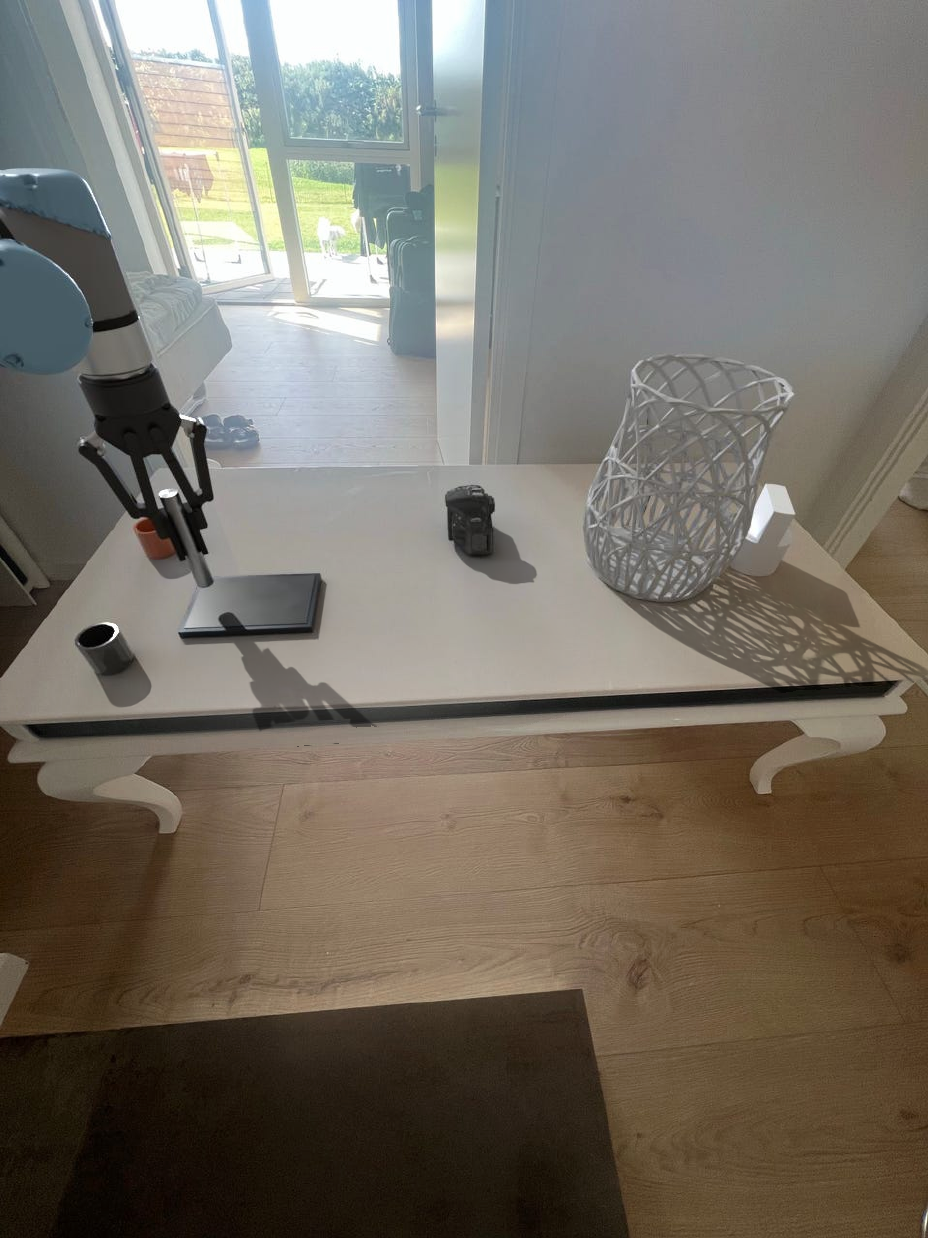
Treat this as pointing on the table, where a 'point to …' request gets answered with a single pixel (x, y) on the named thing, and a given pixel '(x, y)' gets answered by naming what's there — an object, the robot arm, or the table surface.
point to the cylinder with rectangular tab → (766, 533)
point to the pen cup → (152, 540)
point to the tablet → (253, 606)
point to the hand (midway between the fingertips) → (192, 551)
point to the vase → (677, 487)
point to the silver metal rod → (186, 537)
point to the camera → (470, 519)
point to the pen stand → (104, 648)
